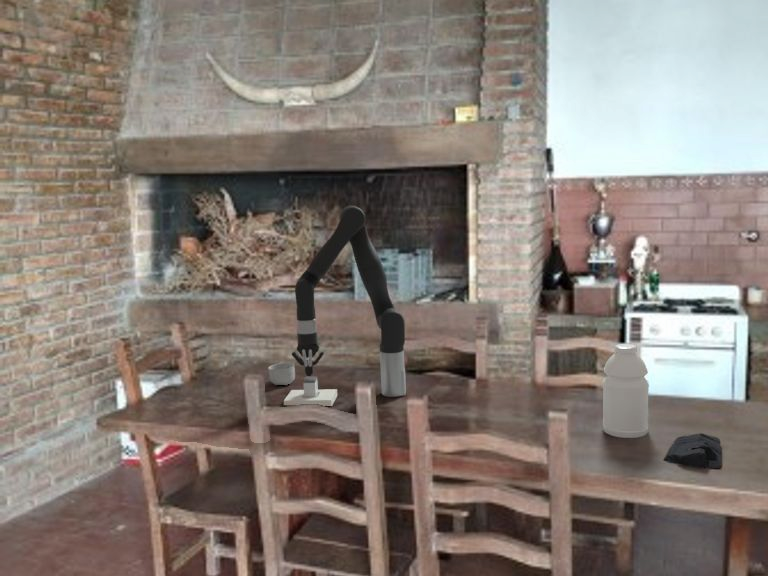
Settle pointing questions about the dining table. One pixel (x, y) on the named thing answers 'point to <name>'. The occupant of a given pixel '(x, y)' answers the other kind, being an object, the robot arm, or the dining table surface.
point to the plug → (310, 387)
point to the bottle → (625, 394)
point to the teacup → (282, 373)
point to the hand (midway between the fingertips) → (309, 375)
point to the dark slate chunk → (695, 451)
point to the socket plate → (324, 398)
